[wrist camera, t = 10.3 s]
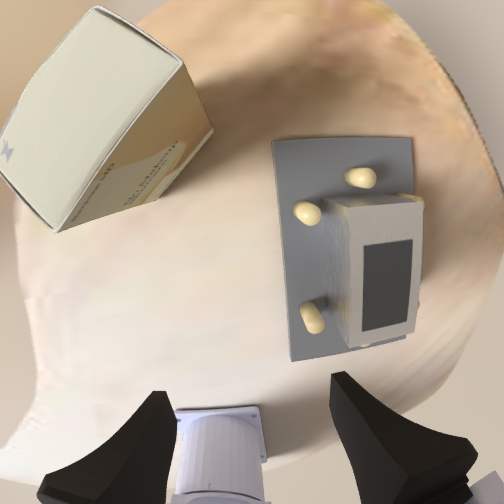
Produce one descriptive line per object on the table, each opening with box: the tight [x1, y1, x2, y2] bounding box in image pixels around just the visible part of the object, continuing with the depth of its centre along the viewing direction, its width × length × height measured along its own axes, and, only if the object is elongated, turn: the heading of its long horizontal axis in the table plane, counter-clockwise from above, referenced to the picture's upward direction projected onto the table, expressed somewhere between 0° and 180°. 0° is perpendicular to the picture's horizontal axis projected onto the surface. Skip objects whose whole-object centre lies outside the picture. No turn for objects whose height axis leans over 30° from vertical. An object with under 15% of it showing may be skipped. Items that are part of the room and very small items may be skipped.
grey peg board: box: [271, 137, 425, 362], centre depth 19 cm, size 16×10×3 cm, turn 6°
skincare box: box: [0, 5, 214, 233], centre depth 12 cm, size 6×4×12 cm
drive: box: [321, 193, 423, 348], centre depth 17 cm, size 8×4×5 cm, turn 7°
